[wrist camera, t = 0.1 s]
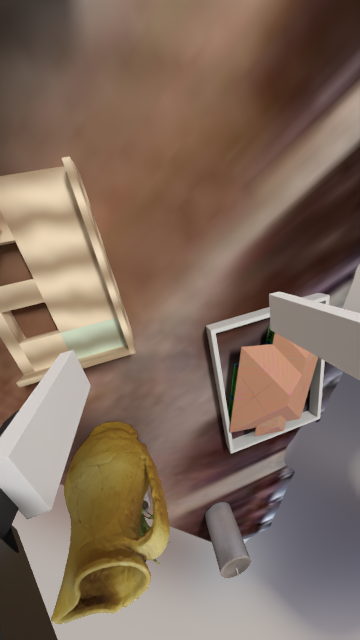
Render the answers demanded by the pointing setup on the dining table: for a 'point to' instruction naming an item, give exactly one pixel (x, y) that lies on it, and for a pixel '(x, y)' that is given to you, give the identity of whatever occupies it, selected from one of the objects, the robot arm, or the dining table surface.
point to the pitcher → (109, 523)
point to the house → (270, 385)
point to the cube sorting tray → (59, 273)
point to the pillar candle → (227, 540)
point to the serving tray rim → (211, 332)
